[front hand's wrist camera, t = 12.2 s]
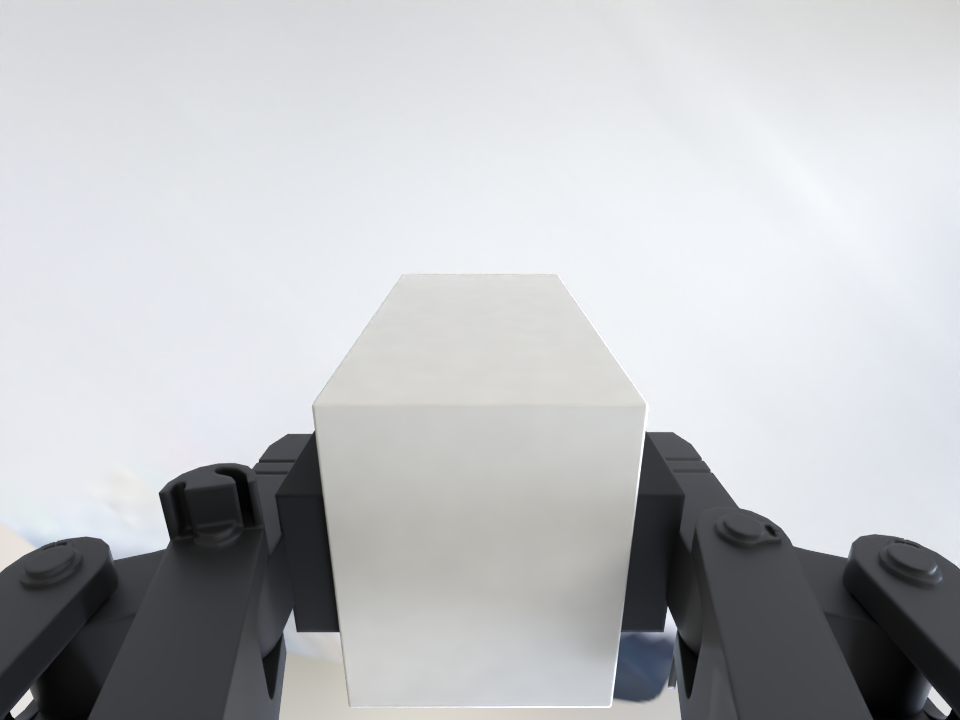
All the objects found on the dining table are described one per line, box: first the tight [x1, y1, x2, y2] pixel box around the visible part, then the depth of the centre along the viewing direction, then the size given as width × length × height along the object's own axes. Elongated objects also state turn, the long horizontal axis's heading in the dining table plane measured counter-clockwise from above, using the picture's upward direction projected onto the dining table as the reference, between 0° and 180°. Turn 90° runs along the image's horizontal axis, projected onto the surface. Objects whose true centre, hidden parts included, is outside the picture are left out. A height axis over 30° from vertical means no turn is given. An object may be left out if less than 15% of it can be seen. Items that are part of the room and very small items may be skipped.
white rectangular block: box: [312, 274, 648, 707], centre depth 12 cm, size 5×6×9 cm
